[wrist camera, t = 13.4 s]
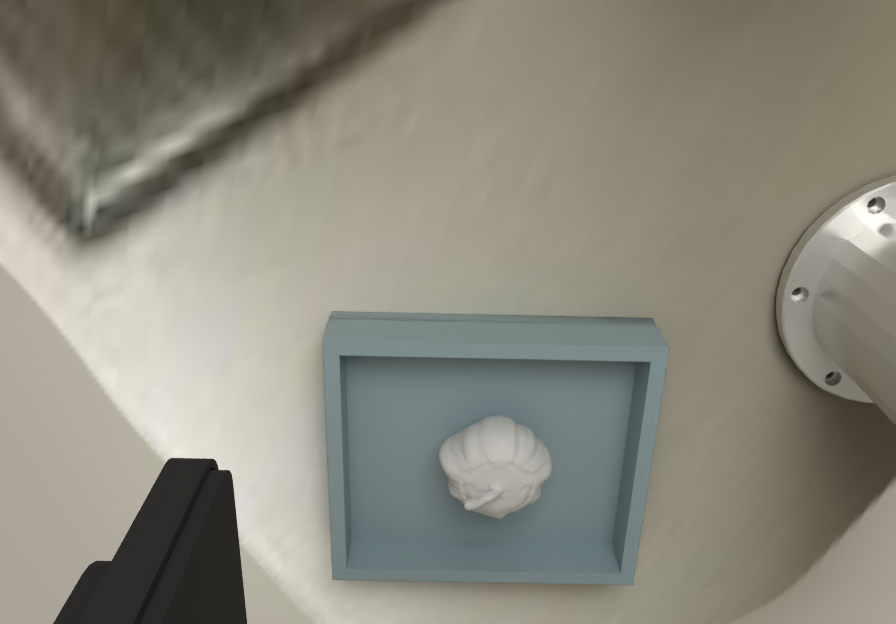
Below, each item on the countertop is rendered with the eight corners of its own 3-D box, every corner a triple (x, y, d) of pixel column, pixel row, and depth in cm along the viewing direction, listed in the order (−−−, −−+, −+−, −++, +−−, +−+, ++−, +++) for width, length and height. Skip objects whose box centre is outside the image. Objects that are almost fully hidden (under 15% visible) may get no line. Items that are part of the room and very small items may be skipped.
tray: (652, 318, 42) (669, 347, 39) (620, 543, 49) (633, 584, 45) (331, 311, 42) (322, 340, 39) (340, 538, 48) (332, 579, 45)
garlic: (436, 481, 45) (436, 542, 41) (440, 398, 43) (439, 453, 38) (542, 484, 46) (553, 546, 41) (550, 402, 43) (563, 456, 39)
